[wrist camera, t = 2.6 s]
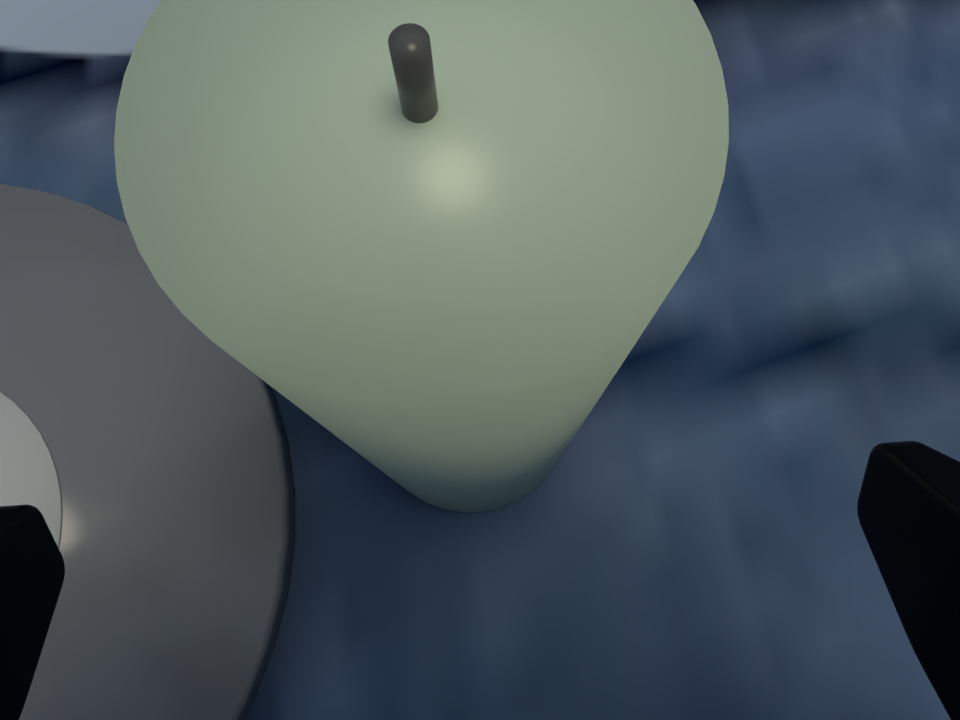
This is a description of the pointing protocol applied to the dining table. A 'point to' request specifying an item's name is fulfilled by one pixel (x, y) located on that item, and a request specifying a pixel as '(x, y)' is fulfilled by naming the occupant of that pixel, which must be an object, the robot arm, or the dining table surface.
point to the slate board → (136, 477)
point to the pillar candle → (425, 209)
